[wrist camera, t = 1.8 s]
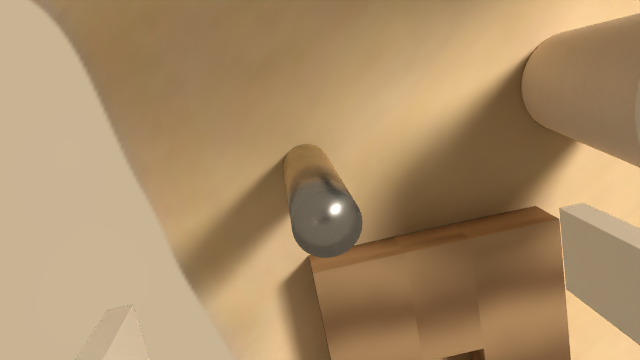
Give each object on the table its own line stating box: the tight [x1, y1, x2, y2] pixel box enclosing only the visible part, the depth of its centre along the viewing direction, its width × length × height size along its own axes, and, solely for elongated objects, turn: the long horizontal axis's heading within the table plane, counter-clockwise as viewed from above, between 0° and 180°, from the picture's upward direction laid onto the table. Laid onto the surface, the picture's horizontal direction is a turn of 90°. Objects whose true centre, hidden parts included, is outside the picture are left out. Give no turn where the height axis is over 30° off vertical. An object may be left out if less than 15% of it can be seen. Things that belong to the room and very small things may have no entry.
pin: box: [283, 144, 362, 258], centre depth 28 cm, size 3×3×12 cm
